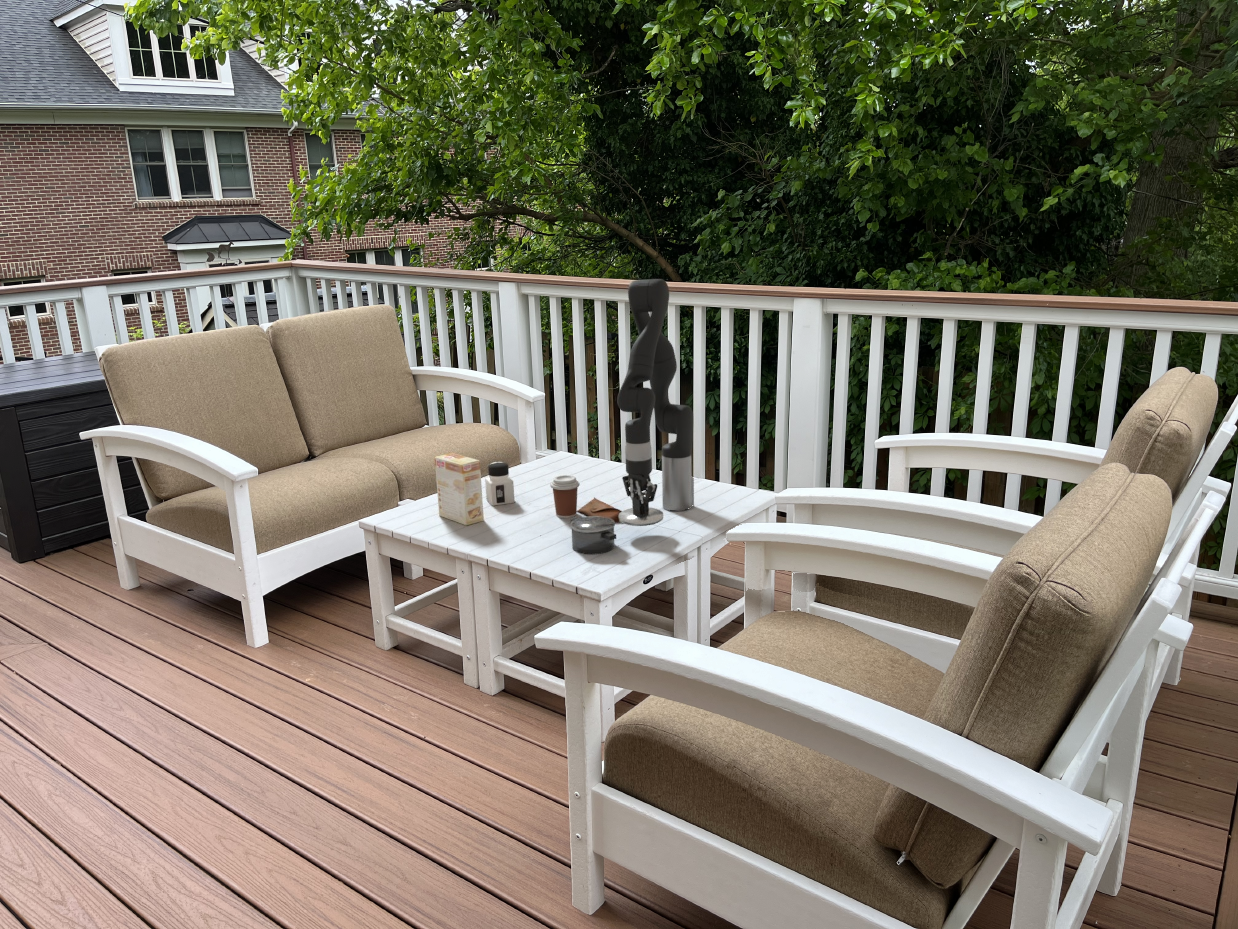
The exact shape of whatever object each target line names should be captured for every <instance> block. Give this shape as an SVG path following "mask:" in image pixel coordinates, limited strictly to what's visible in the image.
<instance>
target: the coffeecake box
mask: <svg viewBox="0 0 1238 929" xmlns="http://www.w3.org/2000/svg"><path fill="white" fill-rule="evenodd" d="M434 467H435V479H436V482H435V483H436V491H437V503H438V505H437V506H438V515H439V517H442V518H445V519H448V520H451V521H452V522H456V523H459V524H461V525H464V526H469V525H473V524H477V523H480V522H484V521H485V518H484V504H483V488H482V486H483V485H482V474H481V471H482V470H481V460H479V459H477V458H473V457H469V456H465V455H461V454H457V453H454V452H450V453H449V452H448V453H445V454H441V455H437V456H434Z"/></svg>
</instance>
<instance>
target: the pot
mask: <svg viewBox="0 0 1238 929" xmlns="http://www.w3.org/2000/svg"><path fill="white" fill-rule="evenodd" d="M569 522H570V523H569V524H570V529H571V543H572V544H571V546H572V550H573V551H575V553H579V554H584V555H601V554H606V553H608V552H610V551H612V550H614V548H615V540H616V539H617V534H616V533H615V525H616V523H615V522H614V520H612V519H610V518H607V517H601V516H589V517H587V516H583V517H574V518H573V517H572V518H571V519H570V520H569Z"/></svg>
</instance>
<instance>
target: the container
mask: <svg viewBox="0 0 1238 929" xmlns="http://www.w3.org/2000/svg"><path fill="white" fill-rule="evenodd" d="M487 469H488V471H487V472H488V477H484V482H485V483H484V485H485V495H486V496H485V497H486V498H485V499H486V500H487V502H488V503H489V504H490V505H491V506H492V507H493V506H494V507H495V506H499V505H500V506H501V505H502V506H503V505H509V504H513V503H515V502H516V501H515V487H514V486H515V484H514V480H513V479H512V478H511V477H510V475H509V474H510V472H509V464H508V463H506V462H504V461H495V462H492V463H490V464H489V465H487Z"/></svg>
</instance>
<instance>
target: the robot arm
mask: <svg viewBox="0 0 1238 929" xmlns="http://www.w3.org/2000/svg"><path fill="white" fill-rule="evenodd" d="M627 289H628V290H627V296H628V303H629V307H630V310H631V313H632V316H633V317H632V318H633V320H634V322H635V326H636V328H637V331H638V337H637V338H636V340H635V341H634V342H633V345H632V347H631V350H630V353H629V359H628V360H629V361H628V365H627V367H628V368H627V372H626V375H625V378H624V380H623V383H622V384H621V387H620V388H619V391H618V394H617V398H616V400H617V401H616V402H617V406H618V408H619V409H620V411H622V412H624V413H640V417H638V418H633V419H630V420H628V421H627V422H625V426H624V431H625V433H624V435H625V446H624V447H625V448H624V450H625V451H624V454H625V472H626V473H627V475H624V476H622V478H621V479H622V482H623V485H624V489H625V492H626V496H627V497H630V499H631V500H632V502H631V503H632V508H633V498H634V497H637V496H640V500H641V515H643V516H644V515H647V514H648V513H649V508H650V507H649V506H650V503H651V502H654V500H655V497H656V493H657V489H658V485H657V483H653V482H652V480H651V475H650V474H651V473H652V472H653V456H652V454H653V453H652V444H651V423H652V422H651V421H652V416H653V413H654V419H655V425H656V426H657V429H658V430H659V432H661V433H665V434H671V435H676V438H675V441H672V442H667V443H665V444H664V445H663V446H662V447H661V478H662V479H661V484H662V485H661V486H662V492H661V493H662V508H663V509H664V510H666V511H670V510H683V511H685V510H684V509H688V508H690V507H691V506H692V505H694V506H695V488H694V487H695V480H694V479H695V478H694V477H693V476H692V449H693V443H694V442H693V440H694V439H693V438H694V437H693V436H694V412H693V408H691V407H690V406H689V405H685V404H675V403H671V401H670V399H669V388H670V386H671V383H672V382H673V380H674V378H675V376H676V373H677V367H678V364H677V360H676V354H675V350H674V347H673V344H672V342H671V341H670V340H669V339H668V337H667V336H665V335H664V333H663V332H662V328H663V325H664V321H665V318H666V313H667V311H668V305H669V301H670V289H669V285H668V283H667V282H666V280H665V279H662V278H651V279H650V278H648V279H635V280H632V281H631V282H630V283H629V285H628V288H627ZM650 313H651V314H650ZM645 382H649V384H650V387H638V385H639V384H641V383H645ZM644 497H645V499H644ZM692 507H693V506H692ZM692 507H691V508H692ZM691 508H690V509H691ZM688 510H689V509H688Z"/></svg>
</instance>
